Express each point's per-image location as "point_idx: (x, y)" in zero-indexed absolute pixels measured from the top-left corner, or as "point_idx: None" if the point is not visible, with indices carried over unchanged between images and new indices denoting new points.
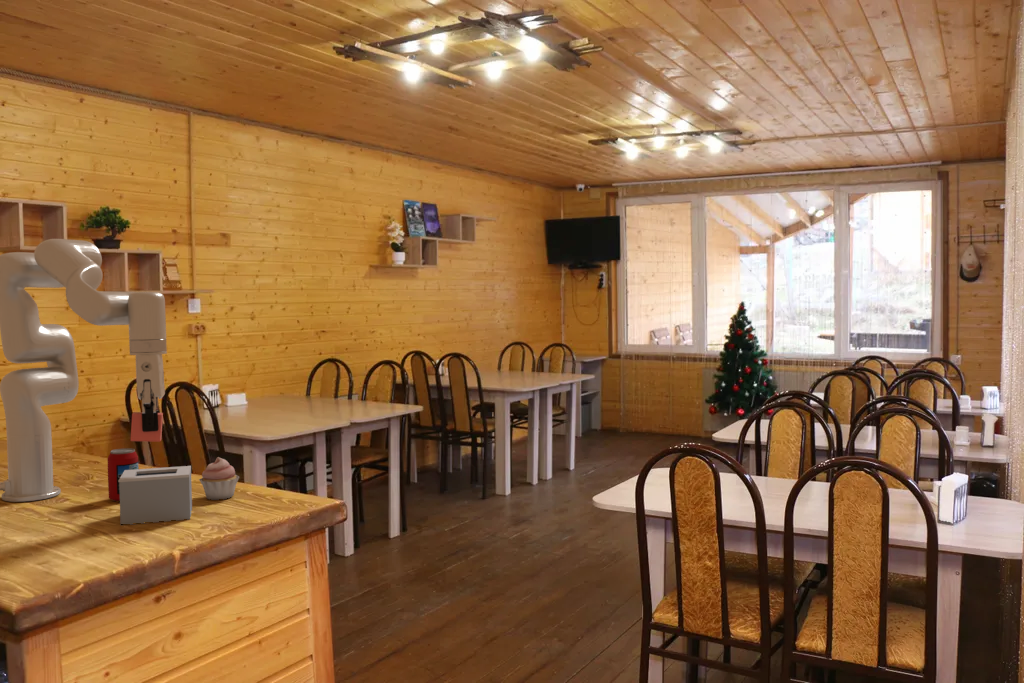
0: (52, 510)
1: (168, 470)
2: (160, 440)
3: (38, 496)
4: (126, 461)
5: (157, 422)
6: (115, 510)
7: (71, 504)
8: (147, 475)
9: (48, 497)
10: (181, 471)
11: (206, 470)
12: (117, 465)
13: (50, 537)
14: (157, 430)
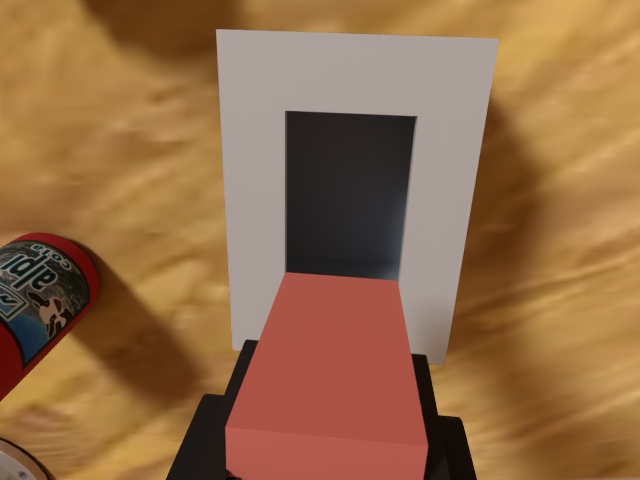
0: (161, 432)
1: (285, 158)
2: (367, 280)
3: (34, 475)
4: (2, 345)
5: (434, 413)
6: (211, 289)
7: (100, 397)
8: (411, 257)
9: (20, 451)
10: (380, 86)
11: None
12: (23, 366)
13: (464, 419)
14: (426, 356)
